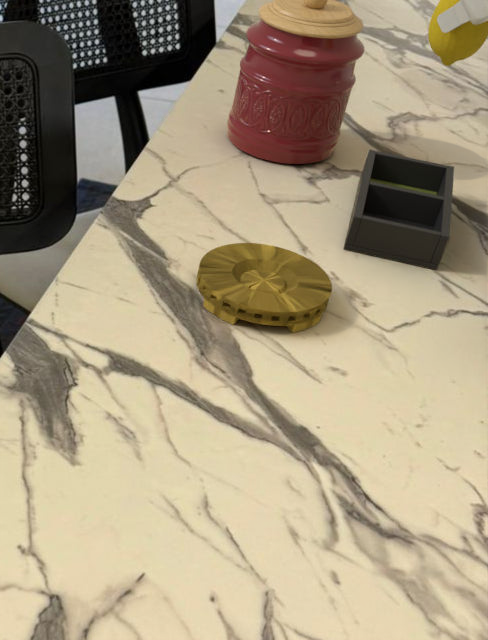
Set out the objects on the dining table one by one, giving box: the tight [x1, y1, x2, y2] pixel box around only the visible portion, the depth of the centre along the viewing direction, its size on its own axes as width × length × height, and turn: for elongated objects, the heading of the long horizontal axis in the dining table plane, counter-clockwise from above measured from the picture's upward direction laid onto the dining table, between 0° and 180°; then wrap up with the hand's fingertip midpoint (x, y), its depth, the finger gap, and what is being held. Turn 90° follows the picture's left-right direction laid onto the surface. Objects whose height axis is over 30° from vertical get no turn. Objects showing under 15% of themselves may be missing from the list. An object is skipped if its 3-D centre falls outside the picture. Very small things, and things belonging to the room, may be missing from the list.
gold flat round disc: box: [195, 242, 333, 333], centre depth 93 cm, size 12×12×2 cm
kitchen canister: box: [226, 0, 366, 165], centre depth 115 cm, size 13×13×18 cm
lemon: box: [427, 0, 488, 67], centre depth 98 cm, size 6×6×8 cm
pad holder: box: [343, 149, 455, 271], centre depth 106 cm, size 9×17×4 cm, turn 160°
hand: (456, 17), depth 98 cm, fingers closed on lemon, 5 cm apart
